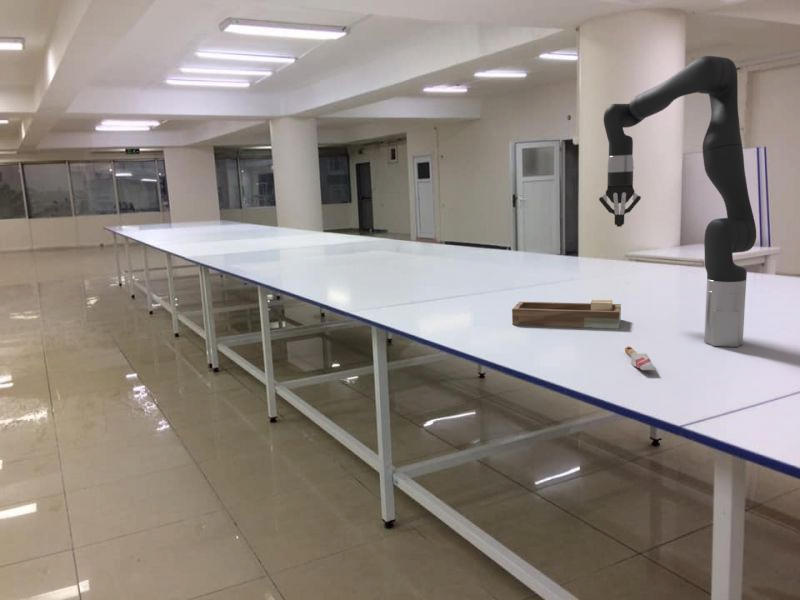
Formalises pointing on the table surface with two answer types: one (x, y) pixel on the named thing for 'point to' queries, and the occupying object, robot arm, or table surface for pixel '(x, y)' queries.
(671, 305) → the table surface
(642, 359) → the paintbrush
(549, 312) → the box
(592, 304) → the beech block
